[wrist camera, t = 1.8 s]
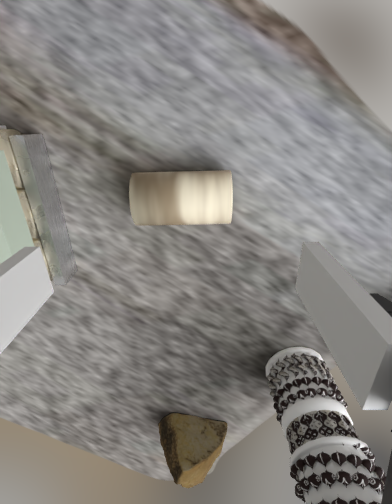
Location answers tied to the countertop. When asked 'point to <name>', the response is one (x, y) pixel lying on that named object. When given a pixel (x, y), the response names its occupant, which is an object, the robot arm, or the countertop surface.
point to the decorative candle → (321, 432)
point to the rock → (190, 446)
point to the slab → (11, 215)
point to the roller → (181, 197)
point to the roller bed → (40, 201)
